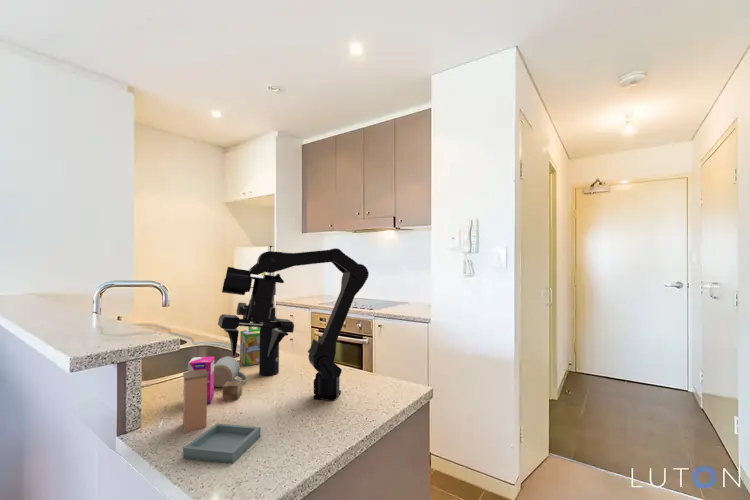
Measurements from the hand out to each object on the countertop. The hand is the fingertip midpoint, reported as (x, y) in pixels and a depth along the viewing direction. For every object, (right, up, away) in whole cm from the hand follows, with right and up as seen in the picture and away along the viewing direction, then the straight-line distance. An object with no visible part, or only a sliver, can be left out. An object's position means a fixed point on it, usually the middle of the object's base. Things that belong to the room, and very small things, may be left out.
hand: (251, 356), depth 93 cm
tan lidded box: (-10, -13, -11) cm, 19 cm away
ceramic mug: (-13, -14, +18) cm, 26 cm away
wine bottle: (-4, -14, +28) cm, 32 cm away
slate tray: (+1, -13, -20) cm, 24 cm away
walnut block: (-8, -14, +6) cm, 17 cm away
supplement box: (-15, -14, +4) cm, 21 cm away
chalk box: (-13, -15, +42) cm, 46 cm away
